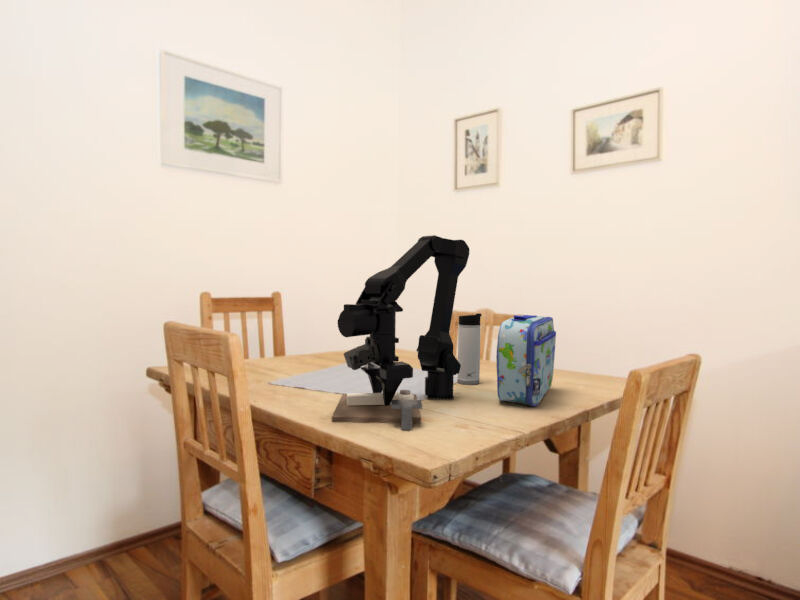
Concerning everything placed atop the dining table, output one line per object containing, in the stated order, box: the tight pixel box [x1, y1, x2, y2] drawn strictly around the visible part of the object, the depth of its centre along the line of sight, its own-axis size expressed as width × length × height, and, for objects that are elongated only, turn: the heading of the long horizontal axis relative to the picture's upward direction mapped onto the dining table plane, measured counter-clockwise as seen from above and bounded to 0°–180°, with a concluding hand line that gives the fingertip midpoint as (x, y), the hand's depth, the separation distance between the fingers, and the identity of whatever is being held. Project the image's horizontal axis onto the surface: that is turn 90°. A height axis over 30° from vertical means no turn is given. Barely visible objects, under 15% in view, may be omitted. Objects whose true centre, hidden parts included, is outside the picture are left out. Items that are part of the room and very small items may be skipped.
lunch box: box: [495, 314, 557, 407], centre depth 123 cm, size 26×11×21 cm, turn 153°
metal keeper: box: [391, 399, 423, 431], centre depth 97 cm, size 6×6×4 cm
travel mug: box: [456, 312, 482, 386], centre depth 140 cm, size 6×7×20 cm
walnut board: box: [331, 389, 422, 424], centre depth 110 cm, size 18×21×4 cm
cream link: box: [346, 391, 415, 406], centre depth 110 cm, size 15×4×2 cm, turn 99°
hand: (382, 402), depth 110 cm, fingers open, 5 cm apart
